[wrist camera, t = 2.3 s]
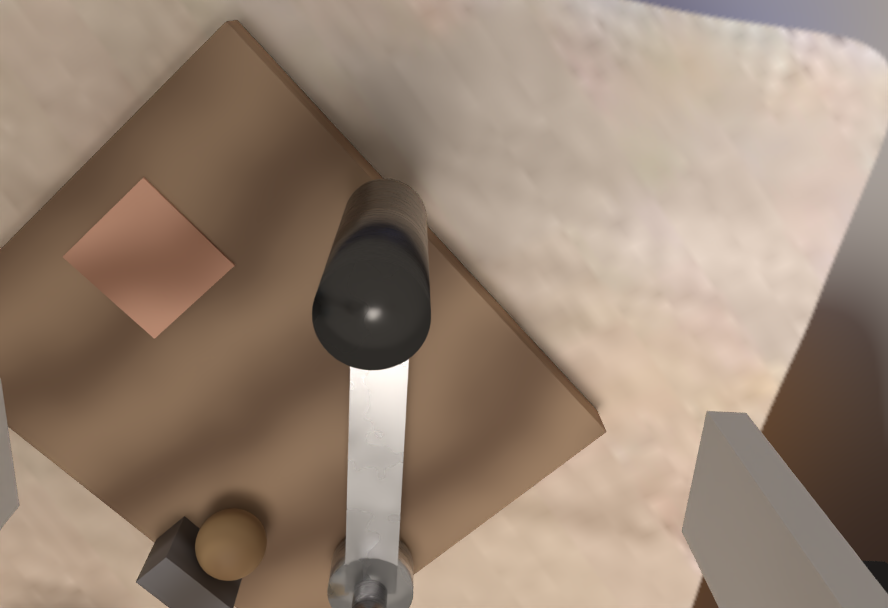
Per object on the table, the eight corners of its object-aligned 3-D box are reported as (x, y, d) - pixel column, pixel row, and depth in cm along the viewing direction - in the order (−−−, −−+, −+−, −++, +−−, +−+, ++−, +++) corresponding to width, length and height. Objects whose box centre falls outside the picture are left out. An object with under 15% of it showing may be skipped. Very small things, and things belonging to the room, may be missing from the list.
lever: (411, 598, 40) (409, 833, 29) (330, 596, 40) (297, 832, 28) (438, 170, 32) (449, 264, 21) (338, 165, 32) (296, 255, 21)
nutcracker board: (-68, 327, 36) (-143, 378, 31) (237, 19, 32) (205, 24, 27) (305, 630, 43) (291, 709, 38) (597, 411, 39) (623, 469, 34)
